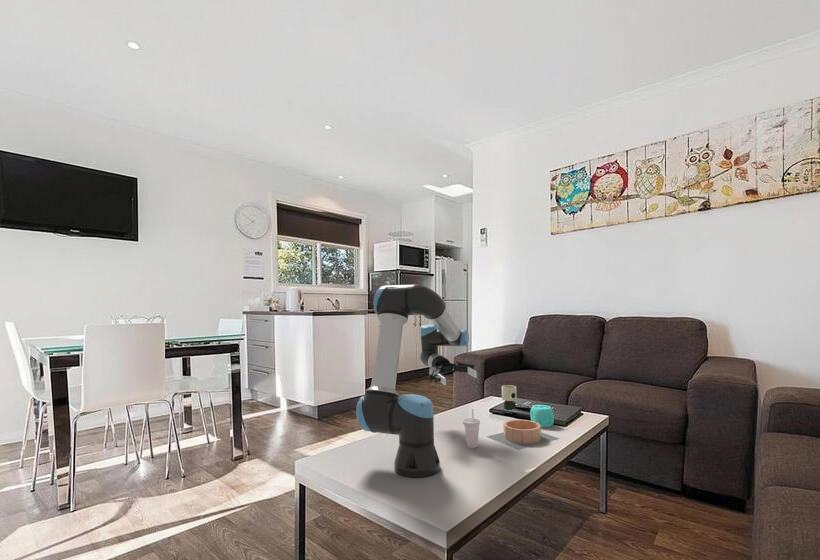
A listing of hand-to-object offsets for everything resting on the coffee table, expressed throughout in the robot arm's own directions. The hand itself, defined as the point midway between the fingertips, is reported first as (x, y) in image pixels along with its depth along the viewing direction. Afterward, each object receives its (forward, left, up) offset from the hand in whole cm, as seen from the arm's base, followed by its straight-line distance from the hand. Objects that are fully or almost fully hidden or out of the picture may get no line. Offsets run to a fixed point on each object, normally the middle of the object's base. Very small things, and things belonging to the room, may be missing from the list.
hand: (460, 378), depth 163 cm
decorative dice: (+42, -2, -25) cm, 49 cm away
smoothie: (0, -6, -25) cm, 26 cm away
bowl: (+22, -10, -24) cm, 34 cm away
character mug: (+44, +20, -25) cm, 54 cm away
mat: (+22, -10, -25) cm, 35 cm away
